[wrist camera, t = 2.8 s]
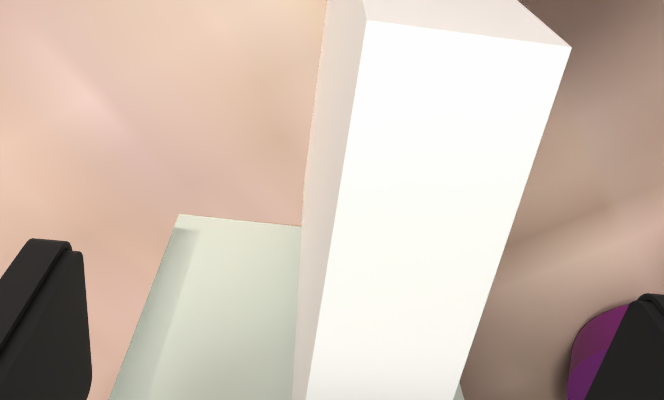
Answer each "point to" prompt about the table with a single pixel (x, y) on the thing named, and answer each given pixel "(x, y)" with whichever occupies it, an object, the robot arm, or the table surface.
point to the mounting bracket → (591, 351)
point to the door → (413, 187)
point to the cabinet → (218, 315)
